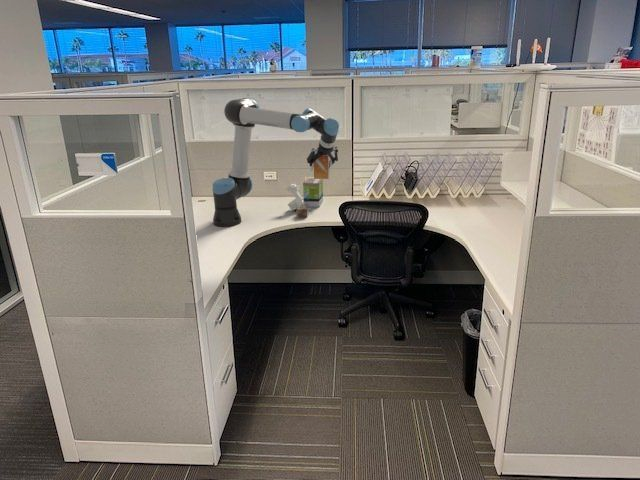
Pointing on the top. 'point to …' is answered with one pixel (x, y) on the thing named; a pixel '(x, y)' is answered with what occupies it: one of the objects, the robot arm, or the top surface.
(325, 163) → the small box
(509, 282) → the top surface
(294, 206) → the voxel character
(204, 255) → the top surface
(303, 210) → the walnut block
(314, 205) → the tea box
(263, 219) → the top surface
